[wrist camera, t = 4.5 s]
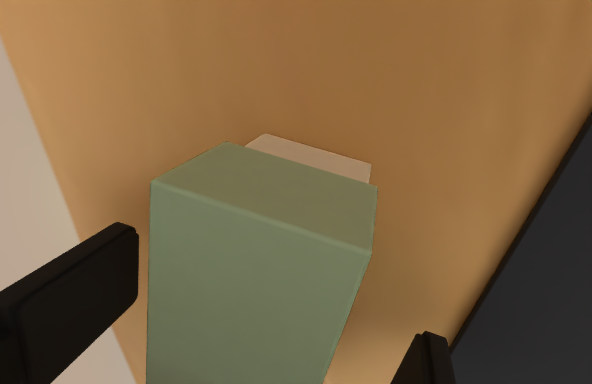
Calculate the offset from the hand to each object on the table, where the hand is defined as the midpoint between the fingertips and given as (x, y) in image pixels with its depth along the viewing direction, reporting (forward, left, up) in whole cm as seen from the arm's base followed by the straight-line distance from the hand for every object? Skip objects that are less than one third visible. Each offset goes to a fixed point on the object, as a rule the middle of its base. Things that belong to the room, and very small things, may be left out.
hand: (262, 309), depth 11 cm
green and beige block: (0, 0, -2) cm, 2 cm away
